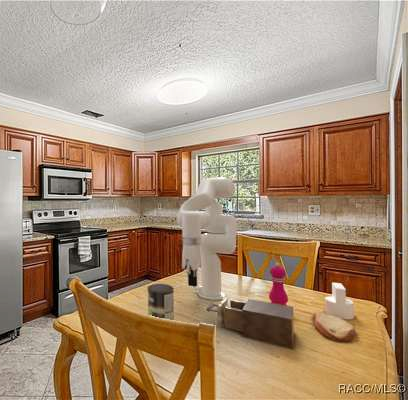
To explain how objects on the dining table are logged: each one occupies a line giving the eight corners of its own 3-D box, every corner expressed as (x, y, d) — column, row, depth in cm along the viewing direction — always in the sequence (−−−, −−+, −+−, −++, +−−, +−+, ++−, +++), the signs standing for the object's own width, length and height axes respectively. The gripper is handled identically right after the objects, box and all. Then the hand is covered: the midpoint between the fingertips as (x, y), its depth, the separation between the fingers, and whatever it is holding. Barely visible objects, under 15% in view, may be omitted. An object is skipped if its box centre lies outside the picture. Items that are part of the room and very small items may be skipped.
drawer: (204, 324, 105) (204, 303, 105) (212, 313, 114) (212, 295, 114) (258, 337, 94) (257, 314, 94) (262, 324, 103) (261, 304, 103)
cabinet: (242, 336, 96) (242, 309, 97) (248, 323, 107) (248, 298, 107) (292, 349, 88) (291, 319, 88) (293, 333, 98) (293, 306, 98)
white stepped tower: (356, 321, 106) (355, 290, 107) (327, 316, 111) (326, 287, 111) (350, 312, 114) (350, 284, 114) (323, 308, 119) (323, 281, 119)
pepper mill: (291, 311, 117) (290, 265, 117) (272, 310, 118) (271, 264, 118) (284, 305, 124) (283, 261, 124) (266, 304, 125) (265, 261, 125)
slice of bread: (320, 315, 113) (320, 306, 113) (375, 334, 96) (374, 324, 96) (289, 322, 107) (288, 312, 107) (341, 344, 90) (340, 333, 90)
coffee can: (151, 329, 103) (151, 292, 103) (145, 318, 113) (145, 284, 114) (178, 328, 104) (177, 291, 104) (169, 316, 114) (169, 283, 114)
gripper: (189, 239, 122) (190, 280, 121) (176, 243, 110) (177, 288, 109) (206, 240, 117) (207, 282, 117) (194, 244, 105) (195, 292, 105)
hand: (192, 285), depth 113 cm, fingers closed
